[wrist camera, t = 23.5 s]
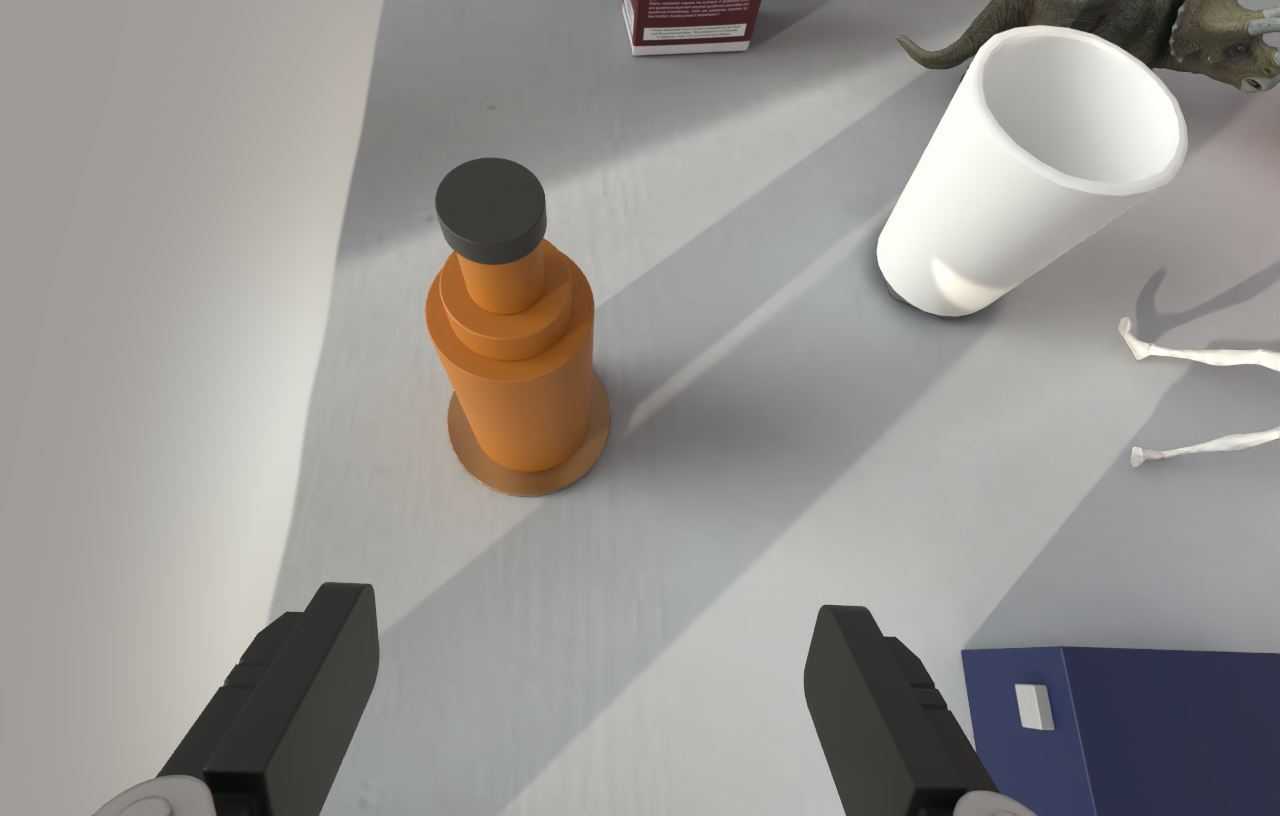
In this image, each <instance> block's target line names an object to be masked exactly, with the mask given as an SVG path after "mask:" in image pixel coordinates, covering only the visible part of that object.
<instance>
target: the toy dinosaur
mask: <svg viewBox="0 0 1280 816" xmlns="http://www.w3.org/2000/svg"><path fill="white" fill-rule="evenodd" d="M1037 25H1044V26H1054V27H1064V28H1070V29H1074V30H1078V31H1083V32H1087V33H1091V34H1094V35H1096V36H1098V37H1100V38H1102V39H1104V40H1107V41H1109V42H1111V43H1113V44H1115V45H1117V46H1119V47H1120V48H1122V49H1123V50H1125V51H1126V52H1128V53H1129V54H1131V55H1132V56H1134V57H1135V58H1137V59H1138V60H1140V61H1142V62H1143V63H1144V64H1145V65H1146V66H1147V67H1148V68H1149V69H1153V68H1161V69H1162V68H1166V69H1170V70H1175V71H1181V72H1191V73H1194V74H1204V75H1207V76H1209V77H1210V78H1212V79H1214V80H1217V81H1220V82H1224V83H1228V84H1231V85H1233V86H1235V87H1236V88H1237V89H1239V90H1242V91H1244V92H1246V93H1255V92H1258V91H1262V92H1265V91H1267V90H1270V89H1272V88H1273V87H1274V86H1276V85H1277V84H1278V83H1279V82H1280V50H1278V49H1277V48H1275V47H1271V46H1268V45H1267V44H1265V43H1264V41H1263V36H1262V34H1265V33H1271V32H1280V6H1278V7H1274V8H1270V9H1266V10H1258V11H1252V10H1248V9H1245V8H1243V7H1241V6H1240V5H1239V4H1238V2H1237V0H993V1H991V2H990V3H989V4H988V5H987V7H986V8H985V9H984V10H983V11H982V12H981V13H980V14H979V15H978V16H977V18H976V19H975V20H974V21H973V23H972V24H971V26H970V27H969V28H968V29H967V30H966V32H965V33H964V34H963V35H962V36H961V38H960V39H959V40H957V41H956V42H954V43H953V44H951V45H950V46H949V47H947V48H945V49H943V50H939V51H935V52H929V51H925V50H923V49H921V48H920V47H918V46H917V45H915V44H914V43H913V42H912V41H911V40H910V39H908V38H907V37H905V36H902V35H898V36H897V37H896V39H897V40H898V41H899V43H900V44H901V46H902V47H903V48H904V49H905V51H906V52H907V53H908V54H909V55H910V57H911V58H912V59H914V60H915V61H916V62H918V63H919V64H921V65H922V66H924V67H926V68H929V69H949V68H953V67H955V66H958V65H959V64H961V63H963V62H964V61H965V60H967V59H968V58H970V57H972V56H974V55H975V54H977V52H978V51H979V49H980V47H982V46H983V45H984V44H985V43H986V42H987V41H988V40H989V39H990V38H991V37H992V36H994V35H995V34H998V33H1001V32H1004V31H1007V30H1010V29H1013V28H1019V27H1028V26H1037ZM969 67H970V66H968V67H967V69H969ZM966 73H967V72H966ZM966 73H964V75H963V76H962V78H961V81H960V84H961V82H962V80H963V78H964V76H965V74H966ZM1259 84H1260V85H1261V86H1260V85H1259Z"/></svg>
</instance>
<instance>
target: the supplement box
mask: <svg viewBox="0 0 1280 816" xmlns="http://www.w3.org/2000/svg"><path fill="white" fill-rule="evenodd" d="M760 3H761V0H623V8H622V11H623V15H624V19H625V23H626V27H627V31H628V35H629V40H630V44H631V49H632V54H633V55H634V56H639V55H659V54H680V53H702V52H725V51H745V50H747V49H748V47H749V44H750V40H751V36H752V33H753V30H754V25H755V22H756V18H757V14H758V10H759V6H760Z"/></svg>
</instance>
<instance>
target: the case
mask: <svg viewBox="0 0 1280 816" xmlns="http://www.w3.org/2000/svg"><path fill="white" fill-rule="evenodd" d="M961 654H962V660H963V667H964V673H965V680H966V686H967V693H968V700H969V706H970V713H971V719H972V726H973V732H974V739H975V745H976V752H977V755H978V757H979V759H980V760H981V762H982V764H983V765H984V767H985V769H986V770H987V772H988V774H989V775H990V777H991V779H992V780H993V782H994V784H995V785H996V787H997V789H998V790H999V792H1000V793H1001V794H1002V795H1005V796H1007V797H1010V798H1012V799H1014V800H1016V801H1018V802H1019V803H1021V804H1023V805H1024V806H1026V807H1027V808H1029V809H1030V810H1031V811H1033V812H1034V813H1035V814H1036V815H1037V816H1280V654H1277V653H1247V652H1216V651H1186V650H1155V649H1125V648H1094V647H1064V646H1059V647H1032V648H1005V649H978V650H962V651H961Z"/></svg>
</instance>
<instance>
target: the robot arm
mask: <svg viewBox="0 0 1280 816" xmlns="http://www.w3.org/2000/svg"><path fill="white" fill-rule="evenodd" d="M378 666H379V640H378V629H377V617H376V606H375V595H374V589H373V587H372V585H371V584H360V583H336V582H325V583H324V584H322V585H321V587H320V588H319V589H318V591H317V592H316V594H315V595H314V597H313V599H312V600H311V602H310V603H309V605H308V606H307V608H306V609H305V611H304V612H286V613H284V614H283V615H282V616H280V617H279V618H278V619H276V620H275V621H274V622H272V623H271V624H270V625H268V626H267V627H266V628H265V629H263V630H262V631H261V632H259V633H258V634H257V636H256V637H255V638H254V640H253V642H252V643H251V644H250V646H249V647H248V649H247V650H246V651H245V653H244V654H243V655H242V657H241V658H240V662H239V664H238V665H235V667H234V668H233V670H232V671H231V672H230V674H229V675H228V677H227V678H226V680H225V682H224V686H223V687H220V688H219V689H218V691H217V692H216V694H215V695H214V696H213V698H212V699H211V701H210V702H209V703H208V705H207V706H206V708H205V709H204V711H203V712H202V713H201V715H200V716H199V718H198V719H197V720H196V722H195V723H194V725H193V726H192V727H191V729H190V730H189V732H188V733H187V735H186V736H185V737H184V739H183V740H182V742H181V743H180V744H179V746H178V747H177V749H176V750H175V751H174V753H173V754H172V756H171V757H170V758H169V760H168V762H167V763H166V764H165V766H164V767H163V768H162V770H161V771H160V772H159V774H158V775H157V776H156V777H155V778H154V779H151V780H148V781H145V782H142V783H140V784H137V785H135V786H133V787H131V788H129V789H128V790H125V791H124V792H122V793H121V794H119V795H117V796H116V797H114V798H113V799H111V800H110V801H109V802H107V803H106V804H105V805H103V806H102V807H101V808H100V809H99V810H98V811H97V812H96V813H94V814H93V815H92V816H319V814H320V812H321V810H322V807H323V805H324V803H325V800H326V798H327V796H328V793H329V791H330V789H331V786H332V784H333V782H334V779H335V777H336V775H337V772H338V770H339V767H340V765H341V763H342V760H343V758H344V756H345V753H346V751H347V749H348V746H349V744H350V742H351V739H352V737H353V735H354V732H355V730H356V728H357V725H358V723H359V721H360V718H361V716H362V714H363V711H364V709H365V707H366V704H367V702H368V700H369V697H370V695H371V693H372V690H373V688H374V684H375V681H376V677H377V672H378ZM804 691H805V698H806V702H807V705H808V708H809V711H810V714H811V717H812V720H813V723H814V725H815V728H816V731H817V734H818V737H819V740H820V742H821V745H822V748H823V751H824V754H825V757H826V760H827V762H828V765H829V768H830V771H831V774H832V777H833V779H834V782H835V785H836V788H837V791H838V794H839V796H840V799H841V802H842V805H843V808H844V811H845V813H846V816H1037V815H1036V814H1035V813H1034V812H1033V811H1031V810H1030V809H1029V808H1027V807H1026V806H1024V805H1023V804H1021V803H1019V802H1018V801H1016V800H1014V799H1012V798H1010V797H1007V796H1005V795H1002V794H1001V793H1000V792H999V790H998V789H997V787H996V785H995V784H994V782H993V780H992V779H991V777H990V775H989V774H988V772H987V770H986V769H985V767H984V765H983V764H982V762H981V760H980V759H979V757H978V755H977V754H976V752H975V750H974V749H973V747H972V745H971V744H970V742H969V740H968V739H967V737H966V735H965V734H964V732H963V730H962V729H961V727H960V725H959V724H958V722H957V720H956V719H955V717H954V715H953V714H952V712H951V711H949V710H948V709H947V704H946V702H945V700H944V699H943V697H942V695H941V694H940V692H939V690H938V689H935V684H934V682H933V680H932V679H931V677H930V675H929V674H928V672H927V670H926V669H925V667H924V665H923V664H922V662H921V660H920V659H919V658H918V657H917V656H916V655H915V654H914V653H913V652H911V651H910V650H909V649H908V648H907V647H906V646H905V645H904V644H903V643H902V642H901V641H899V640H898V639H897V638H896V637H884V636H883V634H882V633H881V631H880V629H879V627H878V625H877V624H876V622H875V620H874V618H873V616H872V615H871V613H870V611H869V610H868V609H867V608H866V607H863V606H842V605H823V606H822V607H821V608H820V610H819V613H818V617H817V621H816V625H815V629H814V633H813V637H812V641H811V645H810V649H809V653H808V657H807V661H806V665H805V670H804Z"/></svg>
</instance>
